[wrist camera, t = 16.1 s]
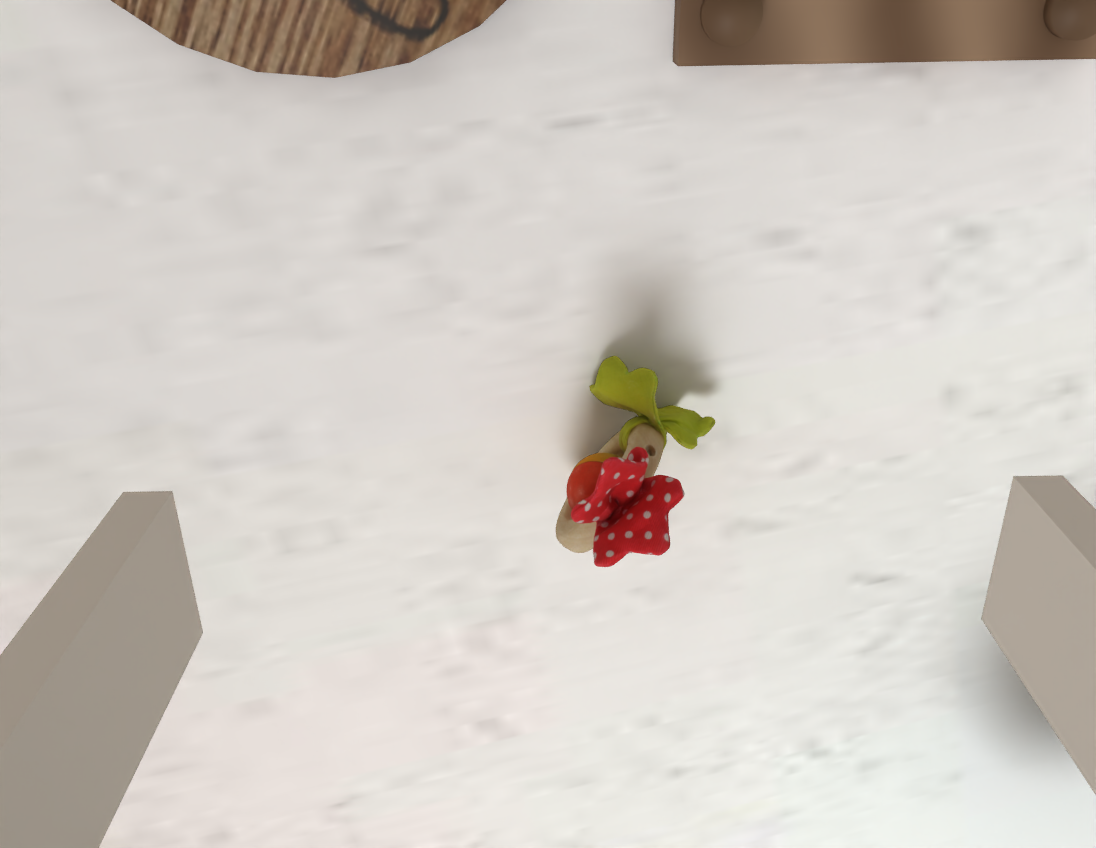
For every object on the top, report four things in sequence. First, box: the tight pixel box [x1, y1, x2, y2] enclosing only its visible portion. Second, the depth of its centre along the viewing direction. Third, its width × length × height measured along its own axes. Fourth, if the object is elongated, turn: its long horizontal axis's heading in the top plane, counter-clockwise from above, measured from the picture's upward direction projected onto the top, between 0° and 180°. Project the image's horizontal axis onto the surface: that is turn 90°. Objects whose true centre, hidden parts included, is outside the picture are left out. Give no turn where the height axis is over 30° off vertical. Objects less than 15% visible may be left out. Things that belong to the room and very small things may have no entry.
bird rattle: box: [556, 356, 715, 567], centre depth 46 cm, size 6×11×9 cm
